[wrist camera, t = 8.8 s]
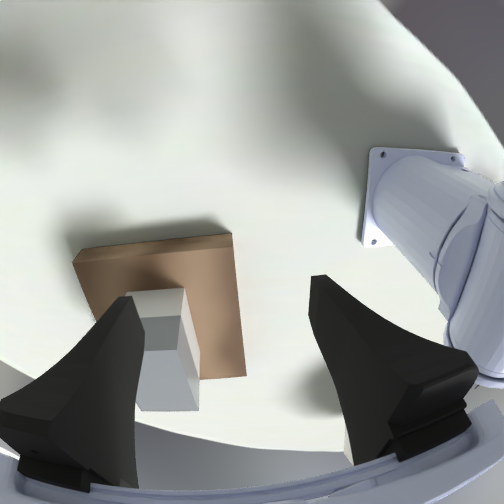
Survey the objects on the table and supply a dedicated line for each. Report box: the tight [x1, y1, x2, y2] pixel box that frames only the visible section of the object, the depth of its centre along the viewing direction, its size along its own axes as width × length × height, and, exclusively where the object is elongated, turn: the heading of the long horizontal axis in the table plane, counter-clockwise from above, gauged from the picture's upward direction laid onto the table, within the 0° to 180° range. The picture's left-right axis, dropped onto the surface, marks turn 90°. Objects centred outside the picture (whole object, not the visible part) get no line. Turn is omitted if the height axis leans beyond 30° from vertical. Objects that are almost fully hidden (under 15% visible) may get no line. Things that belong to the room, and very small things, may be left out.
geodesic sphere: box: [344, 424, 354, 466], centre depth 31 cm, size 15×14×14 cm
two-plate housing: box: [125, 288, 200, 411], centre depth 21 cm, size 4×7×6 cm, turn 3°
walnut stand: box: [72, 233, 247, 380], centre depth 24 cm, size 12×14×2 cm
